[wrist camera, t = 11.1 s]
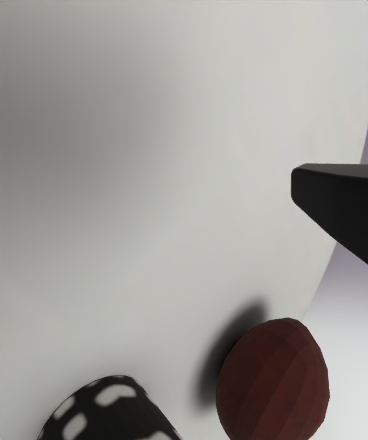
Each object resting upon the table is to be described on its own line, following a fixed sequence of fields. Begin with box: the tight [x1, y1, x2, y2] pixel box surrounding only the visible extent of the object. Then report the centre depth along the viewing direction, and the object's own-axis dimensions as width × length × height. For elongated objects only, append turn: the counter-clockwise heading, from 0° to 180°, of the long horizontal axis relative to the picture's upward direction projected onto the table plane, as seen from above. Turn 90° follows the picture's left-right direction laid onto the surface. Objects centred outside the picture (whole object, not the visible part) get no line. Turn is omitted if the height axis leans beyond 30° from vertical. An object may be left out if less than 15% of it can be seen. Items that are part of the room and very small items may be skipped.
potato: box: [216, 318, 330, 440], centre depth 30 cm, size 9×12×9 cm
